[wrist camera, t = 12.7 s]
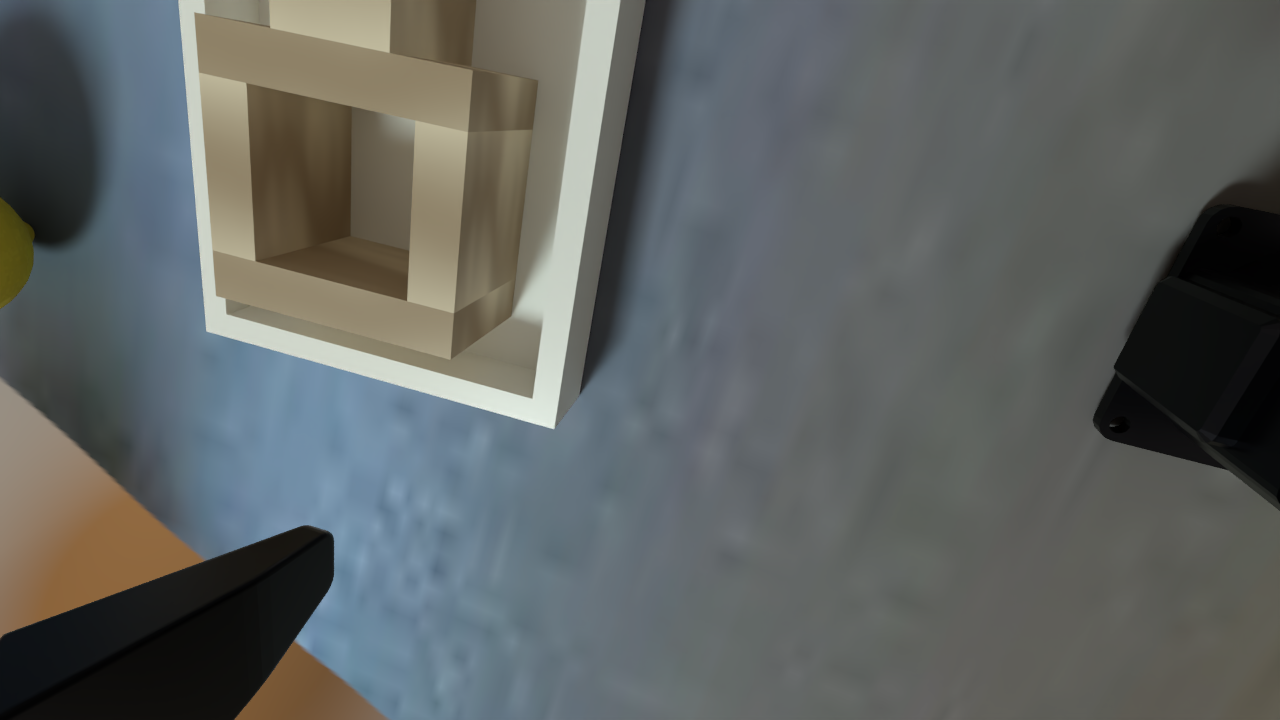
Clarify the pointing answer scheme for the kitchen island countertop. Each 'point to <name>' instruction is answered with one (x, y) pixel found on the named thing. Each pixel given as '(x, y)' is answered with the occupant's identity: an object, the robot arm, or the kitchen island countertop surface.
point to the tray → (552, 218)
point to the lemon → (14, 253)
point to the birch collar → (321, 167)
